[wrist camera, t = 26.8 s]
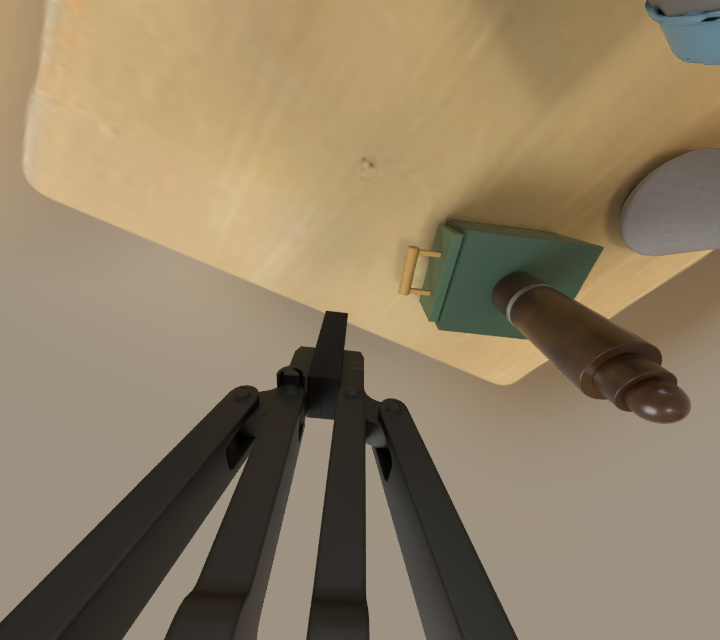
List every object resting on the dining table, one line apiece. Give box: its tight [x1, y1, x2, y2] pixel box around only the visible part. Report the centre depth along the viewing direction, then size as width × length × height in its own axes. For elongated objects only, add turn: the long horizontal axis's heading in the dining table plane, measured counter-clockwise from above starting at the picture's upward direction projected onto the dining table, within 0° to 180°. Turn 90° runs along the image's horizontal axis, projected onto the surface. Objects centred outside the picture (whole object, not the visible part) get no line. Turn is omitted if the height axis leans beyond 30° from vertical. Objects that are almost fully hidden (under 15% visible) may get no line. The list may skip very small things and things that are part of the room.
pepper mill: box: [492, 272, 691, 424], centre depth 22 cm, size 5×5×18 cm
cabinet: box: [435, 219, 604, 340], centre depth 33 cm, size 15×12×8 cm
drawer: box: [399, 224, 465, 322], centre depth 33 cm, size 18×11×6 cm, turn 83°
